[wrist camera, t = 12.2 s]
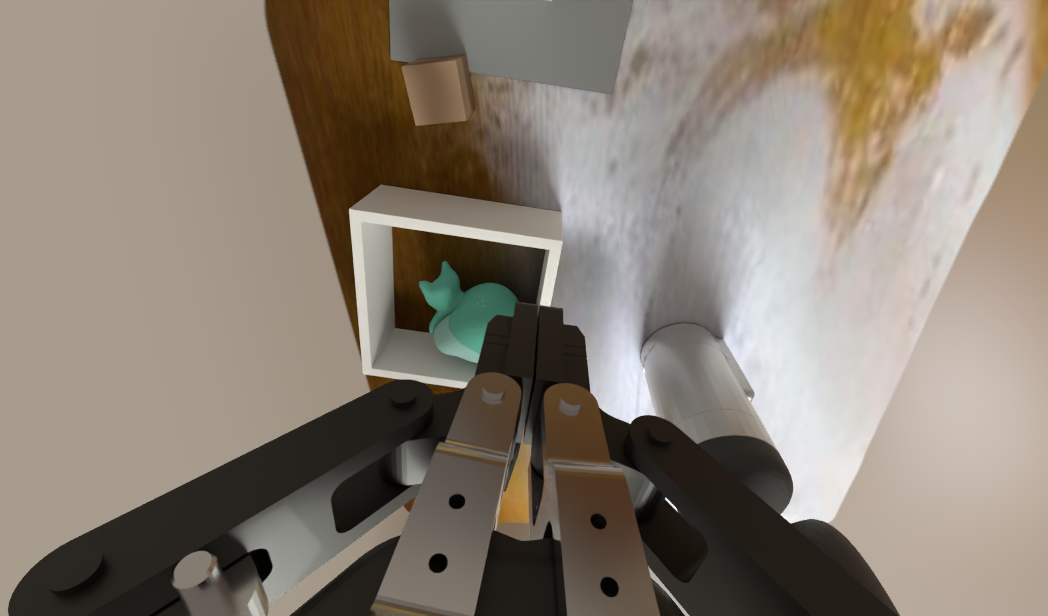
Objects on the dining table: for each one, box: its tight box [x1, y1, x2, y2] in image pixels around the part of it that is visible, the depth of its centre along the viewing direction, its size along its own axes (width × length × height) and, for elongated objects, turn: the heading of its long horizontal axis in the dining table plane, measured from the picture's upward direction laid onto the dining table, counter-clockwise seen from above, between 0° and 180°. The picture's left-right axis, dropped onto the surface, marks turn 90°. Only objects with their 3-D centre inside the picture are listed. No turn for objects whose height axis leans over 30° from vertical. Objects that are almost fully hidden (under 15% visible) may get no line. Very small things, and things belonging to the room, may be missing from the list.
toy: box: [419, 261, 519, 363], centre depth 47 cm, size 10×10×15 cm
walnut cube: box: [401, 54, 475, 126], centre depth 37 cm, size 4×4×4 cm
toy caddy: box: [349, 185, 563, 389], centre depth 46 cm, size 19×19×8 cm
